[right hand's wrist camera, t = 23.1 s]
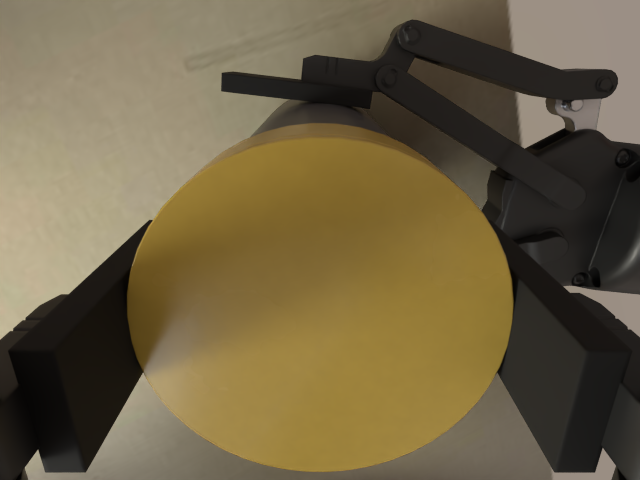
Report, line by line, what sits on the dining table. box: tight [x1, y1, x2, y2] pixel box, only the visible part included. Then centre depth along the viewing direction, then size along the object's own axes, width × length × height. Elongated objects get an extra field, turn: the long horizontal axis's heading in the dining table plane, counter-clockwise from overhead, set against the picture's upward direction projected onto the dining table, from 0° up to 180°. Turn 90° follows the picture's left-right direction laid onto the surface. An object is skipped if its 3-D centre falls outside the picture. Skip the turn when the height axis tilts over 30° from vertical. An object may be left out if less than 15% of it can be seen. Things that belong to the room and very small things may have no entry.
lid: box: [127, 123, 514, 472], centre depth 11 cm, size 9×9×2 cm
